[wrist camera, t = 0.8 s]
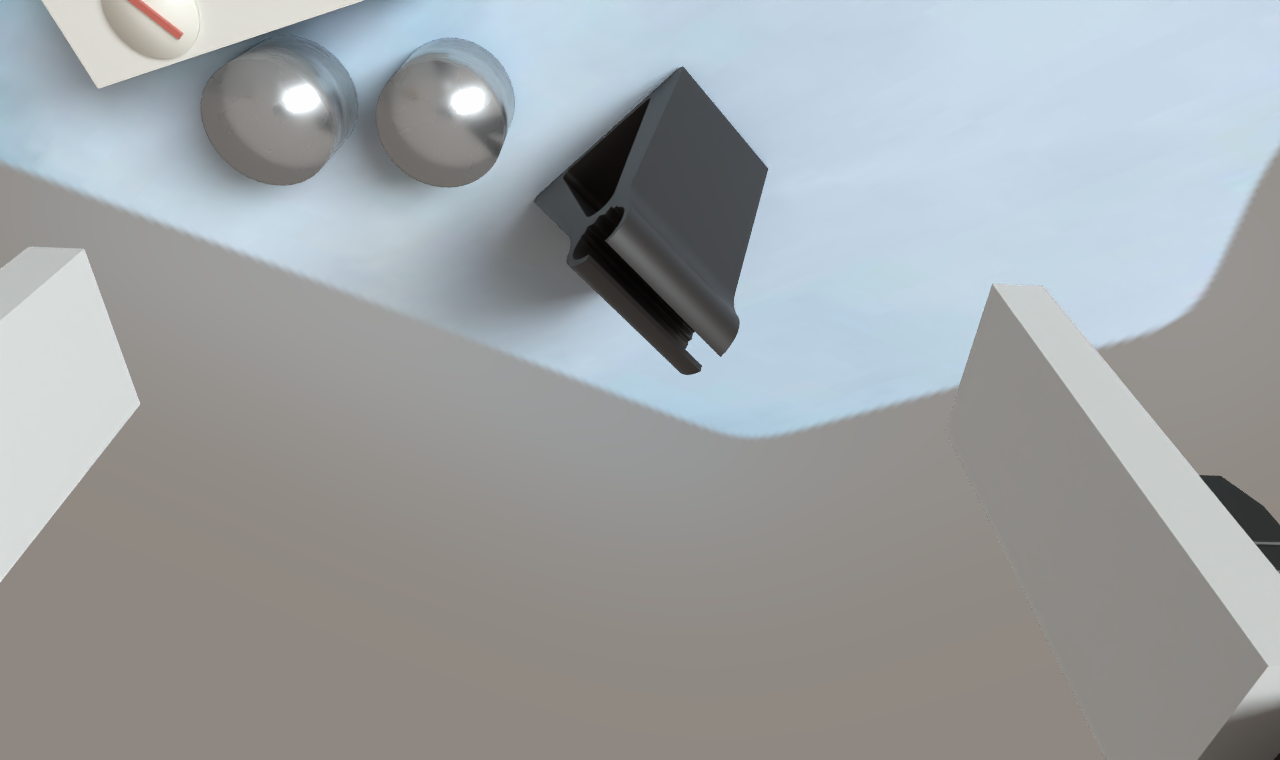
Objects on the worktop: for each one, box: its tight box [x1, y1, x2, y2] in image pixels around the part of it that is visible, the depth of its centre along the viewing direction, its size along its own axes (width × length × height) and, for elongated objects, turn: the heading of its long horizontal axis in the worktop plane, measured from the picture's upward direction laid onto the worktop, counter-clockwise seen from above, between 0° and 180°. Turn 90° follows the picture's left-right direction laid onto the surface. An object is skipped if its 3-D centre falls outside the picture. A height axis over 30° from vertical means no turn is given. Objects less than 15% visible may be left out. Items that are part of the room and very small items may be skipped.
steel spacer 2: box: [376, 38, 515, 187], centre depth 35 cm, size 5×5×4 cm
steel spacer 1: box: [201, 36, 358, 185], centre depth 35 cm, size 5×5×4 cm
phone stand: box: [534, 67, 768, 375], centre depth 34 cm, size 9×6×12 cm, turn 131°
